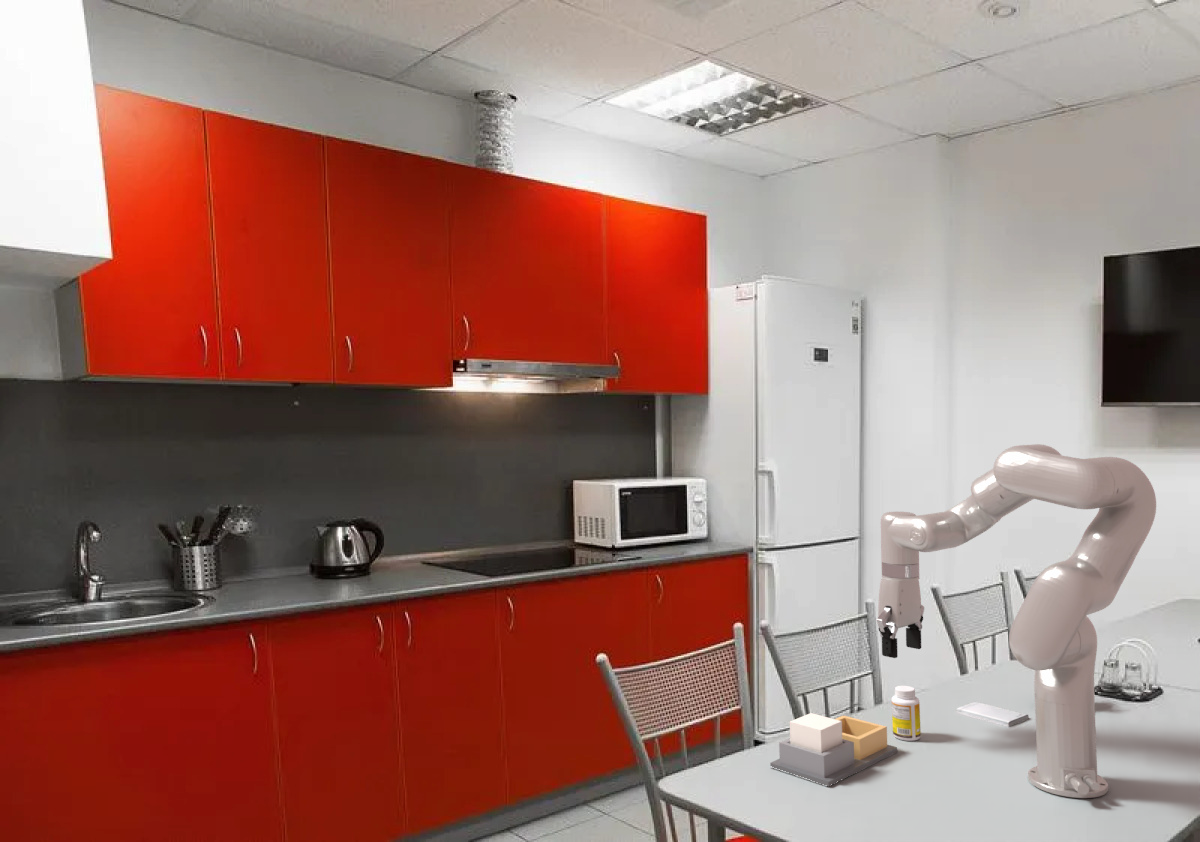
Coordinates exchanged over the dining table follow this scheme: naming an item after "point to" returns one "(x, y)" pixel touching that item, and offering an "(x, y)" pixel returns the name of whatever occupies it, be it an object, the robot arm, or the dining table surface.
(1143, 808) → the dining table surface
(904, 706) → the supplement bottle
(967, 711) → the hard drive
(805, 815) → the dining table surface
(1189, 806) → the dining table surface
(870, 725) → the block sorting tray
